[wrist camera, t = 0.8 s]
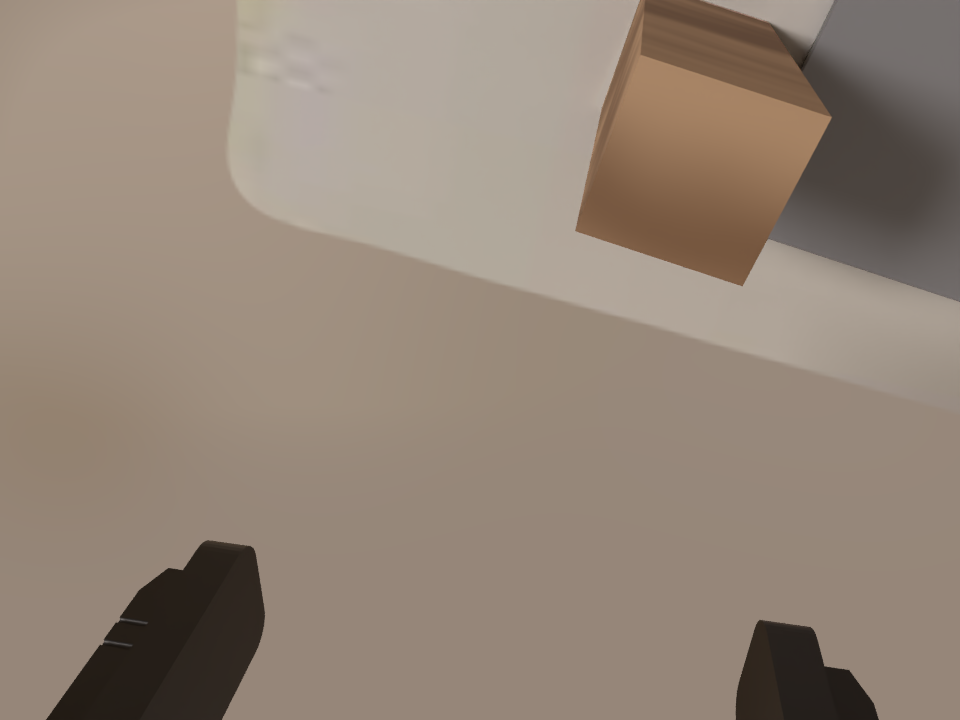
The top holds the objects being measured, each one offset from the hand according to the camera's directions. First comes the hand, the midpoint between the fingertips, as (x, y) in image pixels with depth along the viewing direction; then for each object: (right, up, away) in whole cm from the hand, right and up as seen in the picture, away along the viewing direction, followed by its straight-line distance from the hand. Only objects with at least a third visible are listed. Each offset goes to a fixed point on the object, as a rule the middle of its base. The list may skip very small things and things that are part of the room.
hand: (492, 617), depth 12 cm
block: (+7, +15, +16) cm, 23 cm away
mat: (+18, +11, +16) cm, 26 cm away
